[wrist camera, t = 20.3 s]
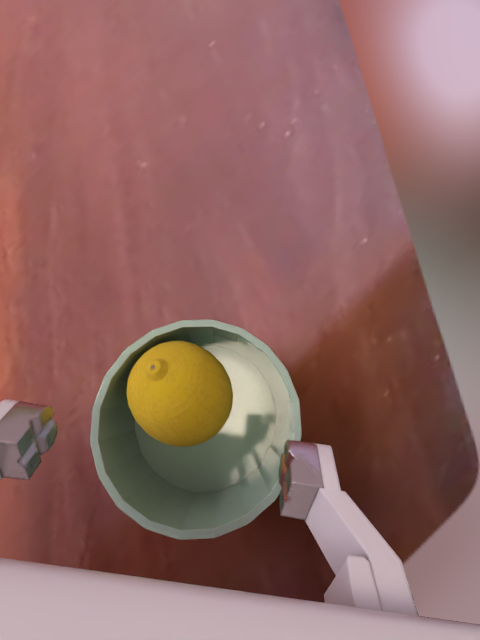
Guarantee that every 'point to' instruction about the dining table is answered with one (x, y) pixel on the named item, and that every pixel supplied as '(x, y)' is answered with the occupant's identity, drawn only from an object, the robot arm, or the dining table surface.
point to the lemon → (179, 393)
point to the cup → (206, 458)
